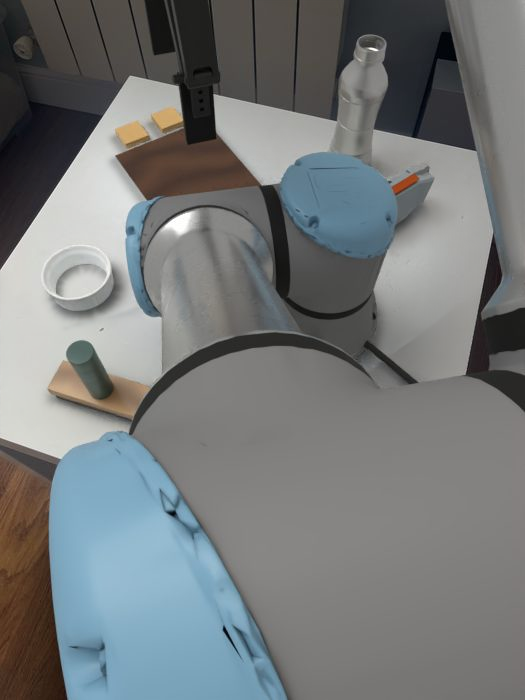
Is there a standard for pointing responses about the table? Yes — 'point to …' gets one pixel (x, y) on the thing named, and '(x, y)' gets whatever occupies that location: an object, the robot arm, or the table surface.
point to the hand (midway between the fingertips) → (182, 93)
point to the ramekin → (72, 258)
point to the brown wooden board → (184, 167)
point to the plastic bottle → (360, 99)
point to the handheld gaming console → (411, 188)
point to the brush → (95, 383)
